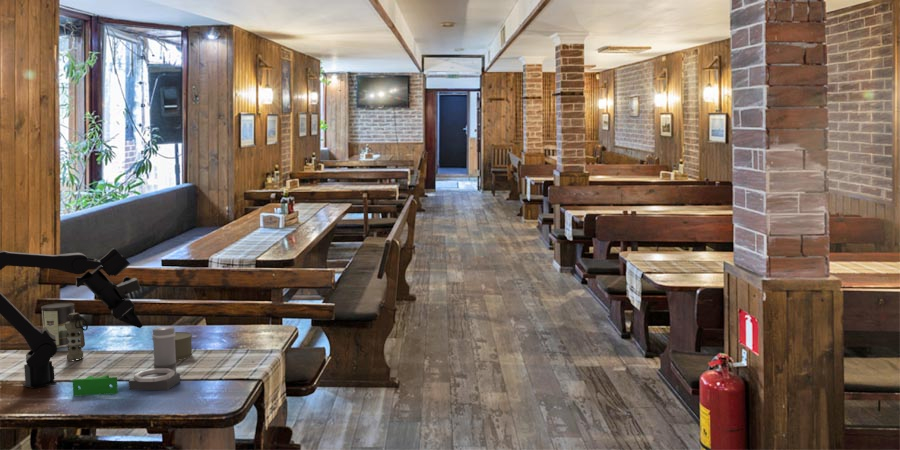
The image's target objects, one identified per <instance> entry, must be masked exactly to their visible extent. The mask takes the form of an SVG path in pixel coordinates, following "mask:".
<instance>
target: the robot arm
mask: <svg viewBox="0 0 900 450" xmlns="http://www.w3.org/2000/svg"><path fill="white" fill-rule="evenodd" d="M130 265H131V263H130V262H129V260H128V259H126V258H125V256H123V255H122V254H121V253H119V252H118V251H117V249H116V248H113V247H112V248H111V249H110V250H109V251H108V252H107V253H106V254H105V255H103V256H102V257H101V258H100V259H98V258H91V257H87V255H85V254H84V253H82V252H69V253H60V254H44V253H43V254H42V253H29V252H14V251H7V250H1V251H0V271H1V270H3V269H4V268H5V267H7V266H8V267H21V268H22V267H23V268H24V267H26V268H41V269H53V270H57V271H62V272H64V273H69V274H73V275H82V276H75V281H76V282H75V286H76V288H79V287H81V286H82V285H85V286H86V288H88V289H89V290H90V291H91V293H93V294H94V296H95V297H96V298H97V299H98V300H99V301H101V302H102V303H103V304H104V305H105V306H106V308H108V310H109V311H110V313H111V315H112V316H113V317H114V318H115V319H116V320H118V321H121V322H123V323H125V324H127V325H131V326H133V327H135V328H138V329H142V327H143V326H144V325H143V323H142V322H141V320H140V319H139V317H138V315H136V313H135V307H136V305H135V303H134V302H133V301H132V300H131V299H130V298H129V297H128V294H130V293H133V292H136V291H137V292H138V291H140V290H141V289H142V287H141V285H140V282H139V279H137V278H136V277H133V278H131V277H129V276H125V277H123V278H122V282H120V283H118V284H116V283H115V282H113V281H111V280H110V279H109V278H108V277H107V276H109V277H113V276H114V277H117V276H118V275H119V274H121V273H122V272H123V271H124V270H126V269H127V268H128V267H129V266H130ZM89 270H93V271H89ZM102 271H103V272H105V274H107V276H106V275H105V274H104V273H103V272H102ZM0 315H1V316H2V317H3V318H4V319H5V320H6V321H7V322H8V323H9V324H10V325H11V326H12V327H13V328H14V329H15V330H16V331H17V332H18V333H19V334H20V335H21V336H22V337H23V338H24V340H25V341H26V343H27V346H29V348H30V350H29V351H28V352H27V353H26V354H25V360H26V361H25V362H26V364H24V365H23V366H24V367H23V369H24V382H23V383H22V384H21V385H22V386H24V387H27V388H30V389H37V388H42V387H45V386H49V385H55V384H56V383H57V380H55V367H54V366H55V365H53V361H52V360H50V359H51V358H53V357H54V356H55V355H56V354H57V351H58V348H57V345H56V339H55V336H54V335H52V334H51V333H50V332H49V331H48V330H47V328H46V327H44V328H43V327H42V328H41V329H40V328H39V327H37V326H35V325H34V324H33V323H32V322H31V321H30V319H28V318H27V317H26V316H25V315H24V314H23V313H22V312H21V311H20V310H19V309H18V308H17V307H16V306H15V305H14V304H13V303H12V302H11V301H10V300H9V299H8V298H7V297H6V296H5V295H4V294H3V293H2V292H1V291H0Z"/></svg>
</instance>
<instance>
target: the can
mask: <svg viewBox="0 0 900 450" xmlns="http://www.w3.org/2000/svg"><path fill="white" fill-rule="evenodd" d="M151 339H152V340H153V337H152V338H151ZM192 349H193V348H192V333H190V332H187V331H185V332H184V331H183V332H182V331H175V353H176V361H180V360H179V359H182V360H185V359H184V358H186V359H188V357H189V358H191V357H192V356H193V351H192ZM191 355H192V356H191ZM190 356H191V357H190Z"/></svg>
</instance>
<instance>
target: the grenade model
mask: <svg viewBox="0 0 900 450" xmlns="http://www.w3.org/2000/svg"><path fill="white" fill-rule="evenodd" d="M68 317H70V321H69V322H66V323H65V328H66V329H67V340H68V346H67V353H66V360H68V361H69V360H76V359H80V358H82V357H83V358H84V352H83V351H82V349H84V347H85V345H86V342H85V339H86V338H85V333H84V332H85V331H87V330H88V329H89V325H90V322H89V321H88V320H86V319H85V318H84V317H83V316H81V314H80V313H79V312H75V313H71V314H69V315H68ZM83 321H84V322H83ZM83 323H84V324H85V325H83ZM68 334H69V335H68ZM83 358H82V359H83Z"/></svg>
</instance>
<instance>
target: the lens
mask: <svg viewBox="0 0 900 450" xmlns="http://www.w3.org/2000/svg"><path fill="white" fill-rule="evenodd" d="M175 332H176V331H175V327H174V326H160V327H155V328H153V329H152V338H153V339H152V344H153V369H156V368H169V369H171V370H173V371H175V373H177V360H176V353H175Z"/></svg>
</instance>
